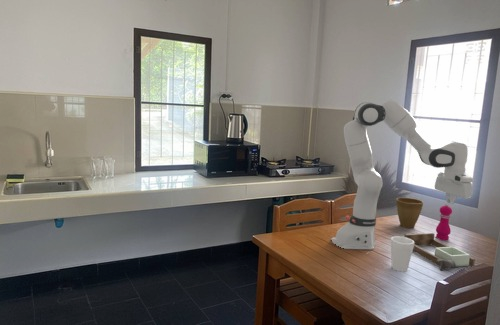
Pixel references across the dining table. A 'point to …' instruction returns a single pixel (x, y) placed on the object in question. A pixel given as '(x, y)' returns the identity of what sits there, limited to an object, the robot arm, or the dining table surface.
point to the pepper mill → (444, 223)
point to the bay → (429, 240)
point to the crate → (453, 255)
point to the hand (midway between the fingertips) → (450, 203)
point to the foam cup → (401, 252)
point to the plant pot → (408, 211)
